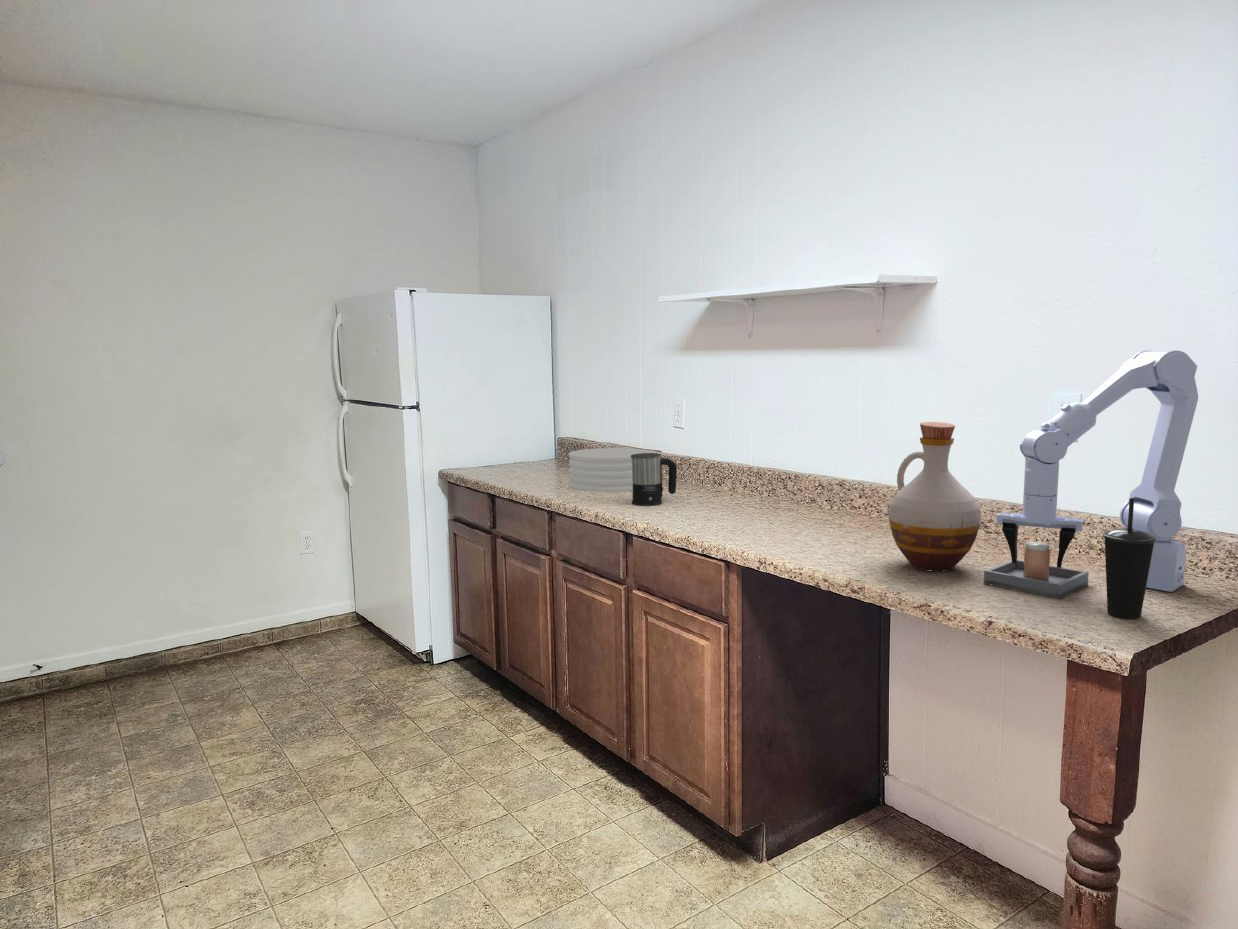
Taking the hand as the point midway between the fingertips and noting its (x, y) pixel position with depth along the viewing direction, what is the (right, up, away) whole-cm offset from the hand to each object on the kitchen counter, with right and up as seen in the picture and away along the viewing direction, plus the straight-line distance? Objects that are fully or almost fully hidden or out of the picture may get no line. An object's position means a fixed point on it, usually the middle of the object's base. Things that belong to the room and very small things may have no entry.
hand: (1036, 564), depth 159 cm
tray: (0, -4, 0) cm, 4 cm away
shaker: (0, -3, 0) cm, 3 cm away
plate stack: (-83, +12, +126) cm, 152 cm away
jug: (-15, -2, +15) cm, 21 cm away
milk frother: (-71, +8, +96) cm, 119 cm away
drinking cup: (+6, -7, -18) cm, 20 cm away
